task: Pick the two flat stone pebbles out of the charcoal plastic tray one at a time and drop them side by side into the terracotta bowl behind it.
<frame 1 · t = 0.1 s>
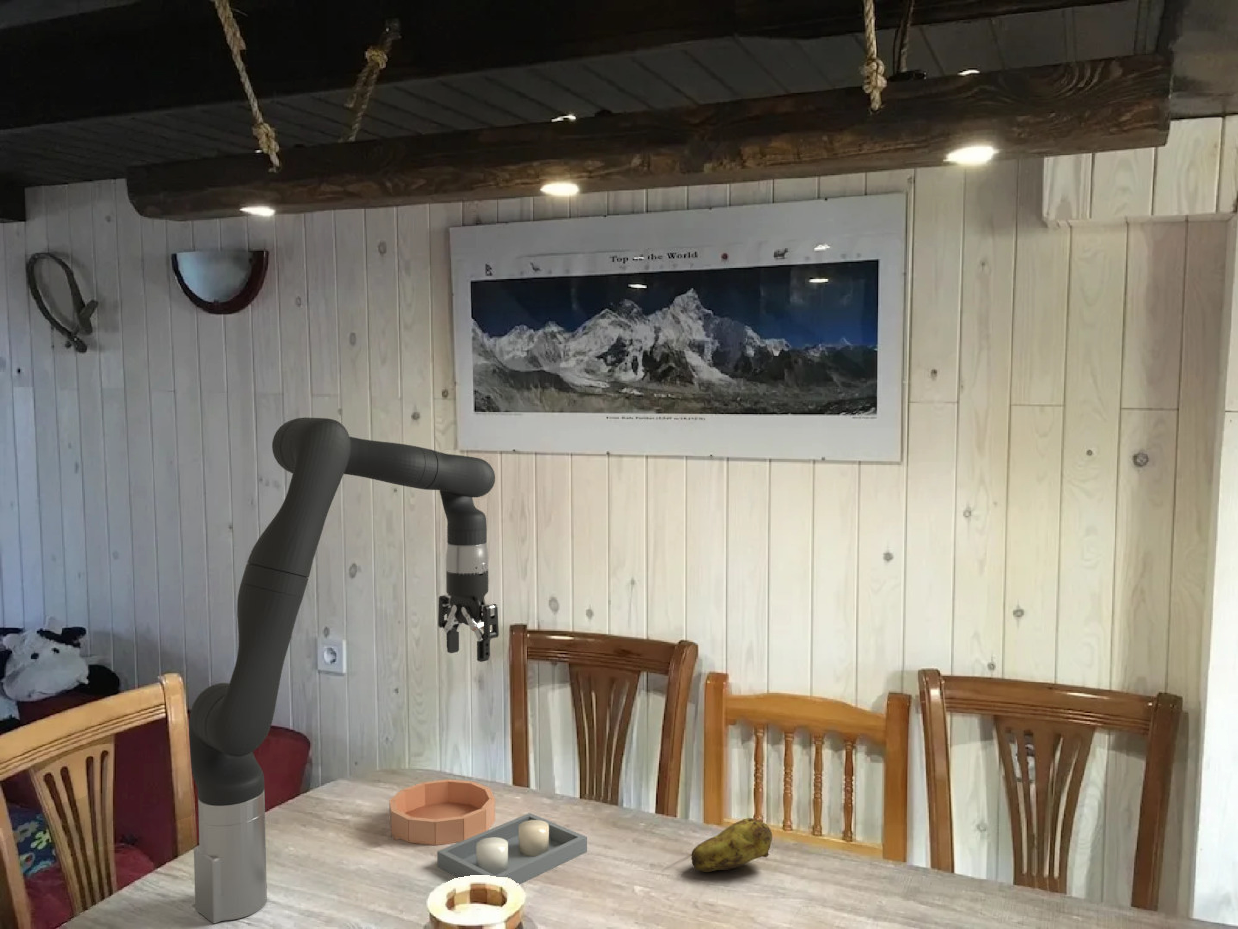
hand: (468, 656, 180), 29 cm above the table, tool pointing down, fingers open, 8 cm apart
tray: (513, 865, 162), on the table
bowl: (442, 827, 177), on the table
pebble a: (492, 868, 159), point 1 cm above the table, touching tray
potato: (731, 870, 161), on the table
pebble b: (533, 849, 166), point 1 cm above the table, touching tray
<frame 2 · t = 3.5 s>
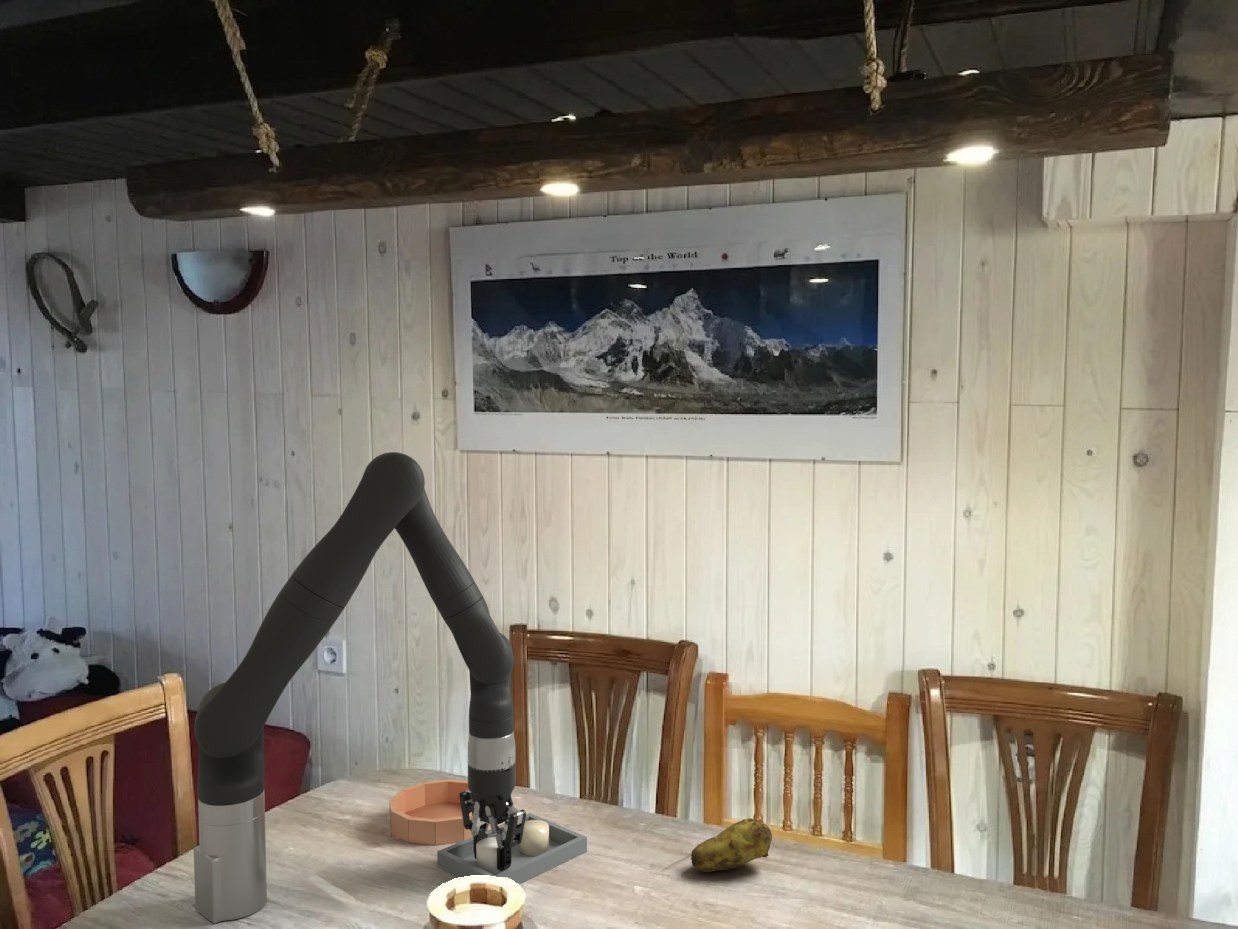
hand: (492, 863, 159), 2 cm above the table, tool pointing down, fingers closed on pebble a, 5 cm apart
pebble a: (492, 868, 159), point 1 cm above the table, touching gripper, tray
everything else where it was.
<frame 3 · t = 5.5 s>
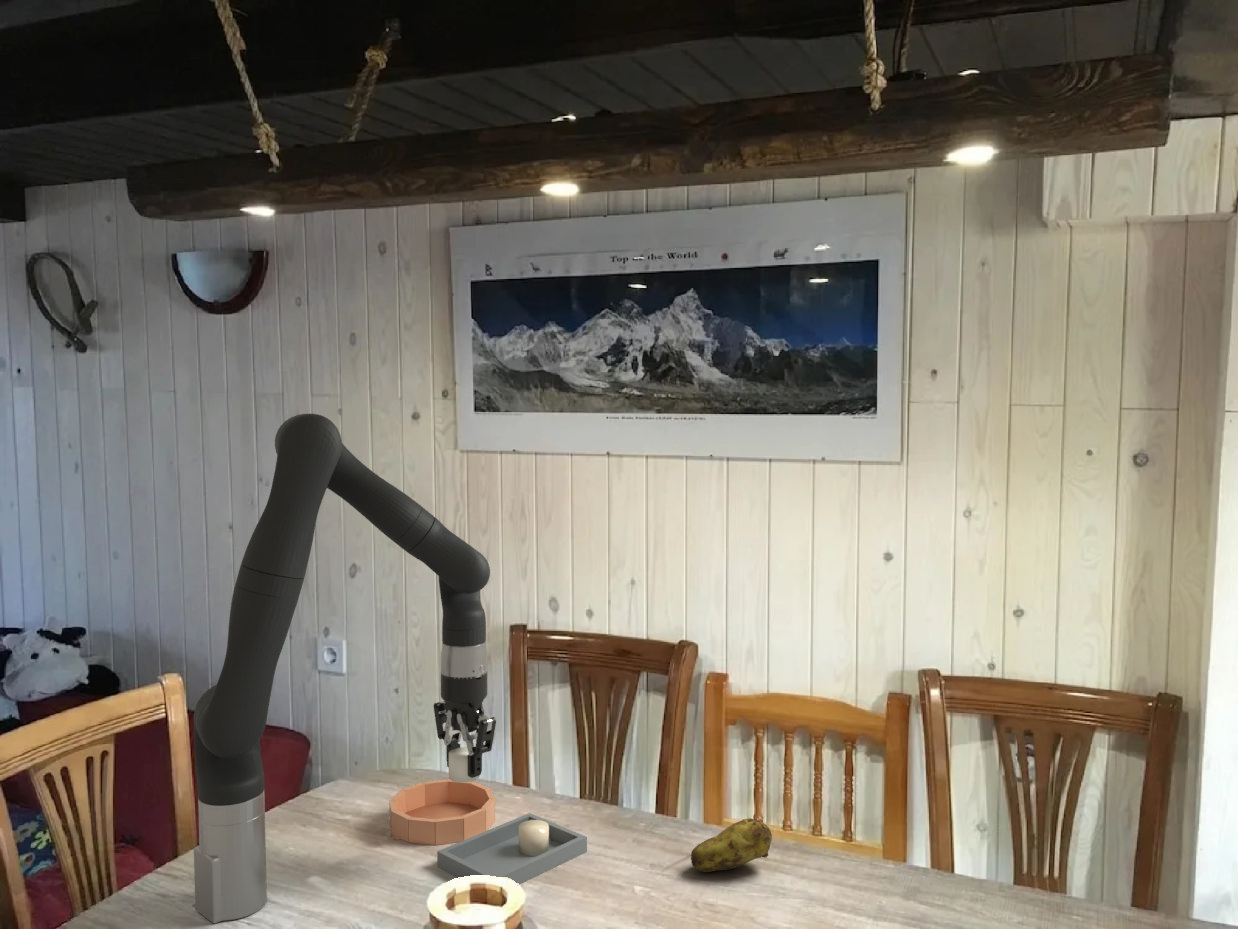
hand: (464, 771, 163), 15 cm above the table, tool pointing down, fingers closed on pebble a, 5 cm apart
pebble a: (464, 776, 163), point 14 cm above the table, touching gripper
everything else where it was.
when the fingers open (7 cm above the table, at t = 8.0 s): pebble a drops 5 cm, resting on bowl.
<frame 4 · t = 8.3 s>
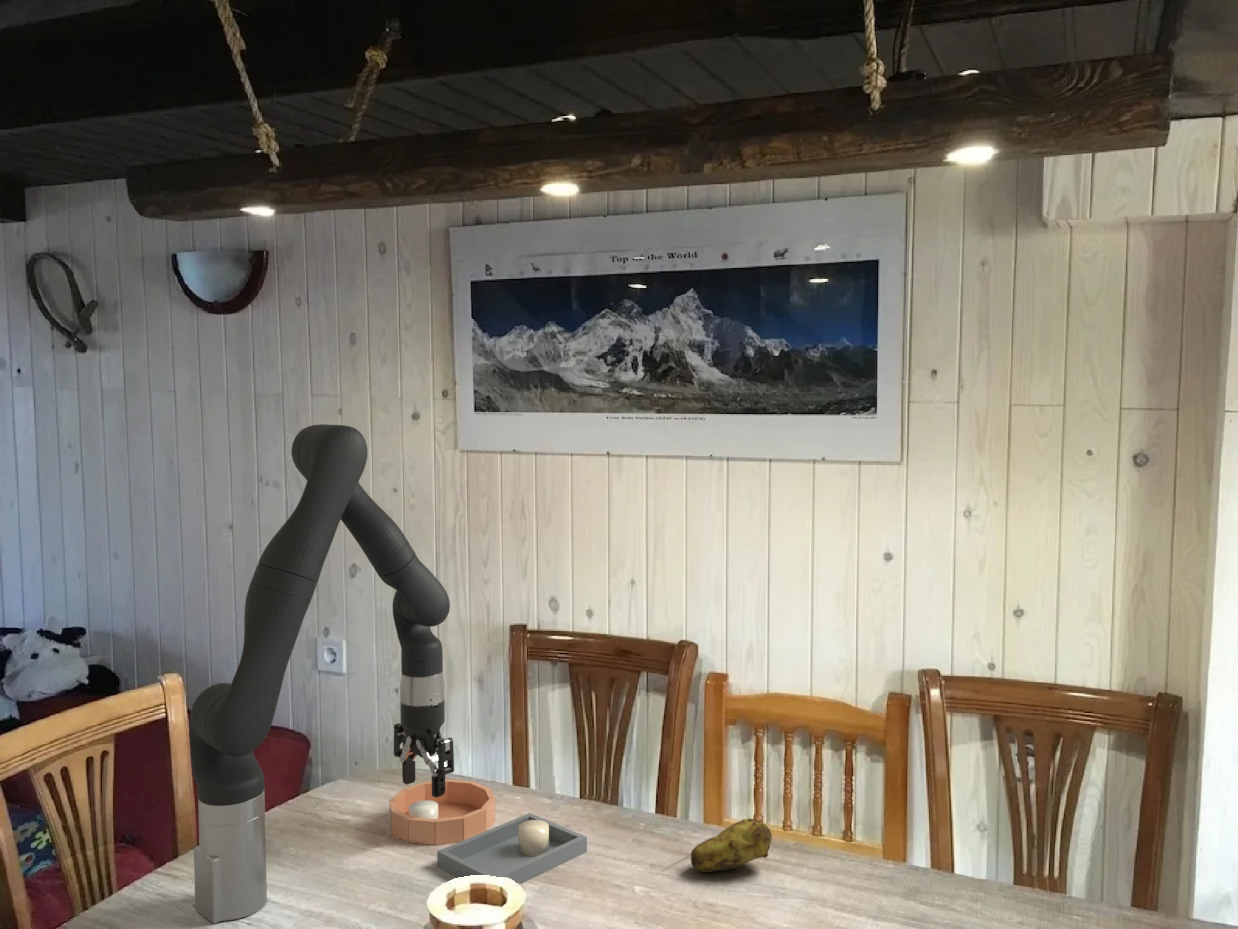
hand: (423, 789, 173), 8 cm above the table, tool pointing down, fingers open, 8 cm apart
pebble a: (423, 828, 174), point 1 cm above the table, touching bowl
everything else where it was.
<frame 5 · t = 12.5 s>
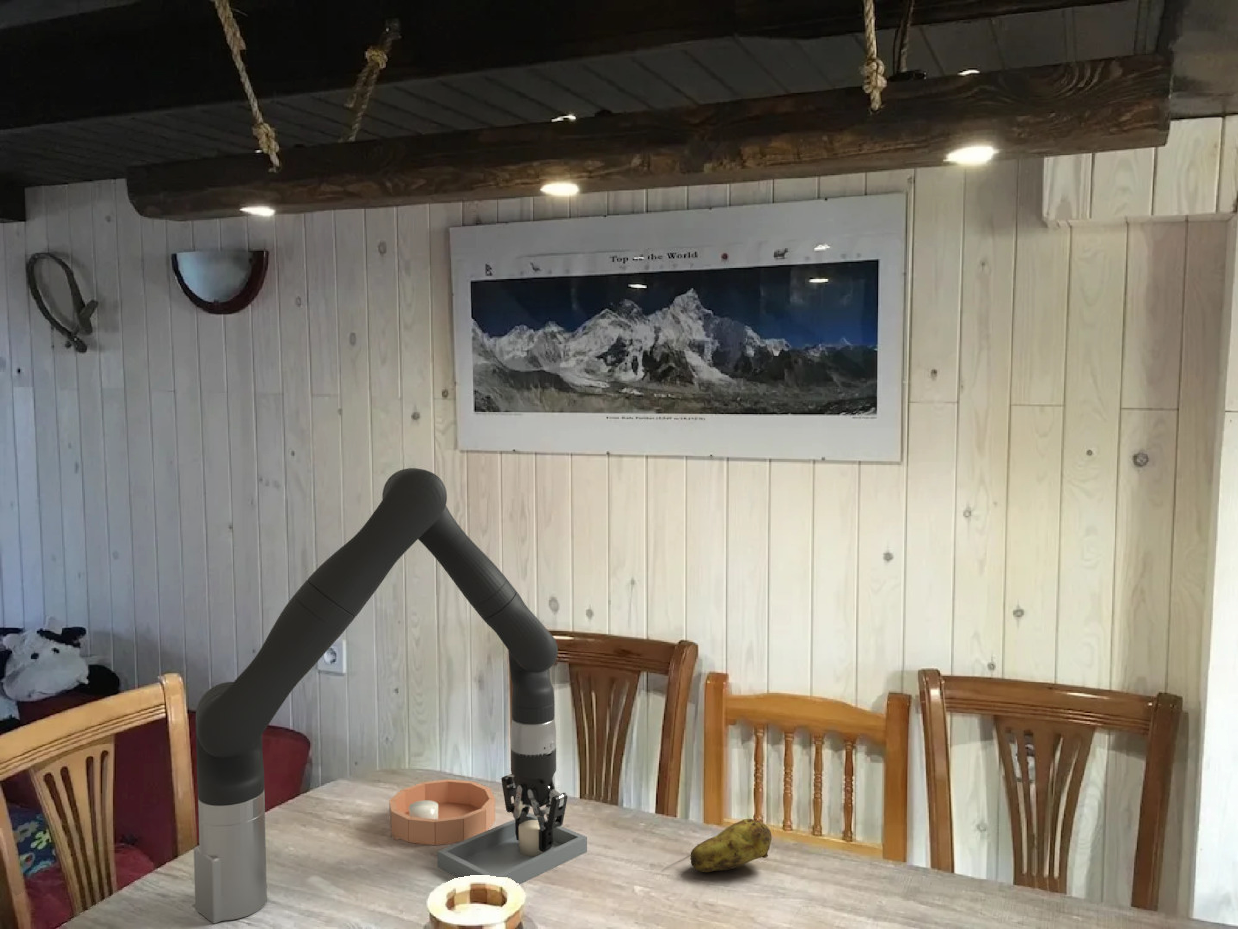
hand: (533, 844, 166), 2 cm above the table, tool pointing down, fingers closed on pebble b, 5 cm apart
pebble b: (533, 849, 166), point 1 cm above the table, touching gripper, tray
everything else where it was.
when the fingers open (7 cm above the table, at t = 16.9 s): pebble b drops 5 cm, resting on bowl.
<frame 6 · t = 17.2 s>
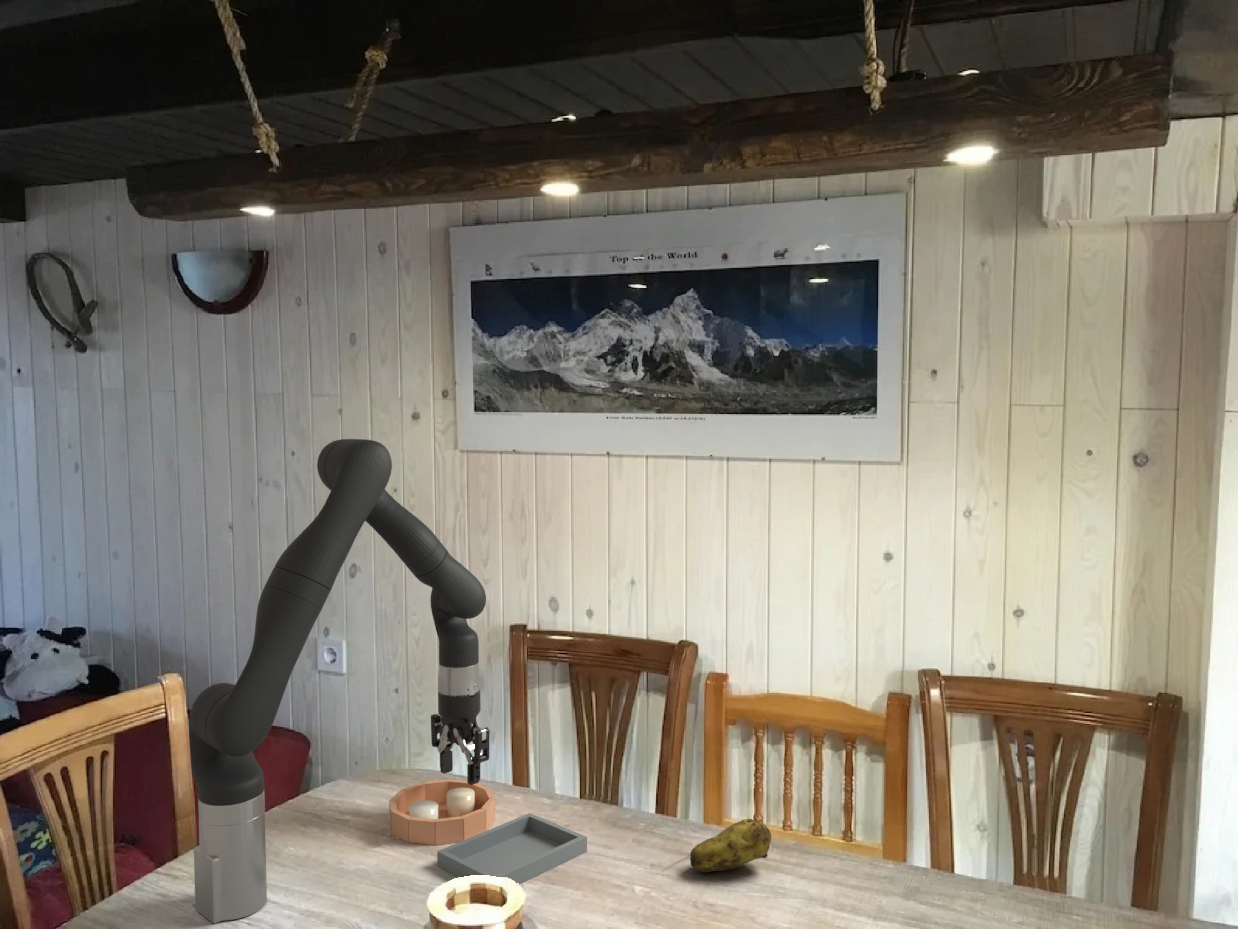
hand: (460, 777, 179), 8 cm above the table, tool pointing down, fingers open, 7 cm apart
pebble b: (460, 814, 179), point 1 cm above the table, touching bowl
everything else where it was.
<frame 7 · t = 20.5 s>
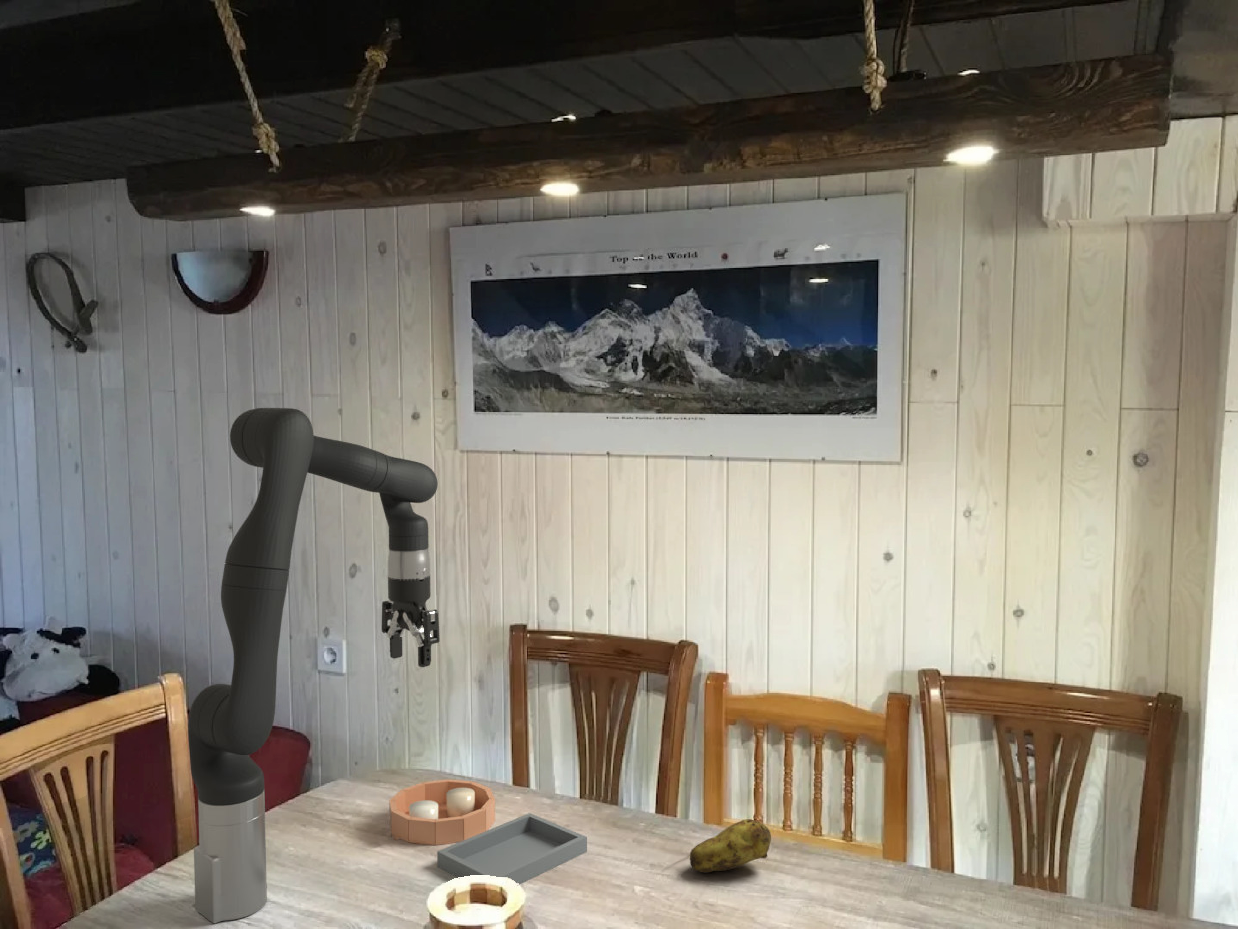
hand: (410, 662, 181), 28 cm above the table, tool pointing down, fingers open, 8 cm apart
nothing on the table moved.
at the end: pebble a inside the target area on the bowl (4.0 cm from its centre), point 1.0 cm above the bowl's base; pebble b inside the target area on the bowl (4.0 cm from its centre), point 1.0 cm above the bowl's base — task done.
